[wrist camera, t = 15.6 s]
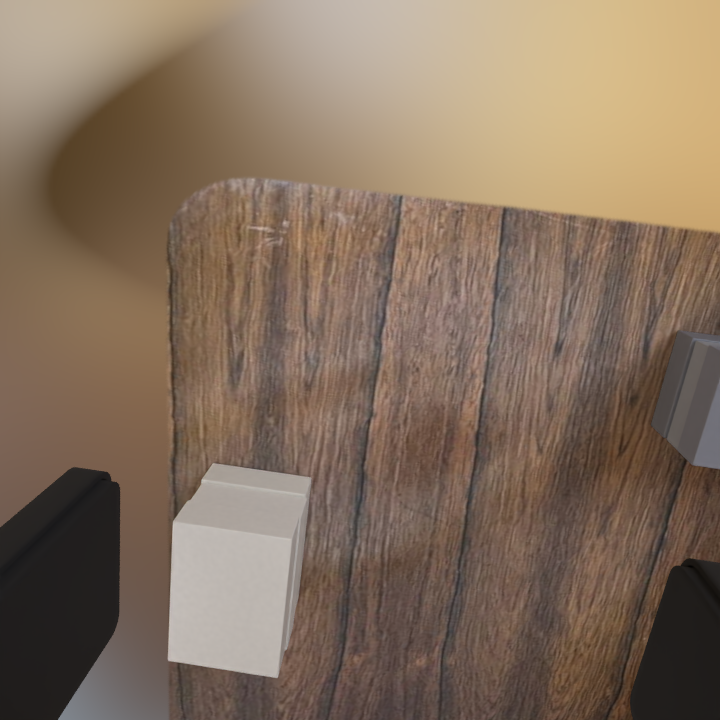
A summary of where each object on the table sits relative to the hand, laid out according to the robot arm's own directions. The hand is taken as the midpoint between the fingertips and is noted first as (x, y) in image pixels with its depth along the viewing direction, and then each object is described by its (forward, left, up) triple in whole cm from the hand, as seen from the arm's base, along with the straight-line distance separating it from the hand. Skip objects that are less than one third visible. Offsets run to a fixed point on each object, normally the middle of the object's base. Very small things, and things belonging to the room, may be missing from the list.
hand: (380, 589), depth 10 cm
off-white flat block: (+6, -19, -23) cm, 31 cm away
